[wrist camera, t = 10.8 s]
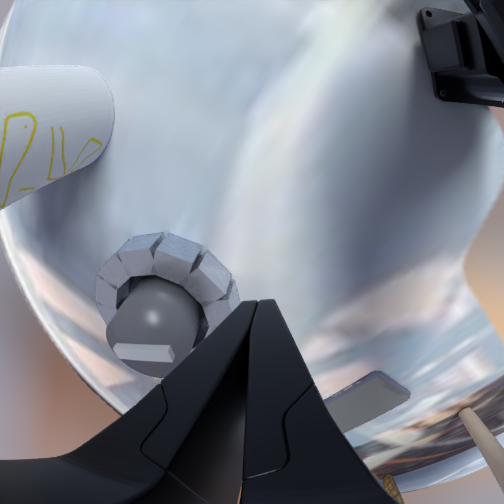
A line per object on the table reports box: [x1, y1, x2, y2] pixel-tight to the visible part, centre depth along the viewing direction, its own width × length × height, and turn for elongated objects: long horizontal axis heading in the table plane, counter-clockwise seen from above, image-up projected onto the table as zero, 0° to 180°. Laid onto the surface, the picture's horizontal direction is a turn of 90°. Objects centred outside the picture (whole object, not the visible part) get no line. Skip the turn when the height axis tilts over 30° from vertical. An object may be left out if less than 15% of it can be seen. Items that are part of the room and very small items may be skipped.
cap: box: [106, 275, 205, 378], centre depth 21 cm, size 6×6×7 cm
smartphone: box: [323, 371, 411, 433], centre depth 30 cm, size 8×1×15 cm
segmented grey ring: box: [95, 232, 240, 353], centre depth 23 cm, size 12×12×2 cm
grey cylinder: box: [0, 65, 115, 210], centre depth 12 cm, size 8×8×12 cm
